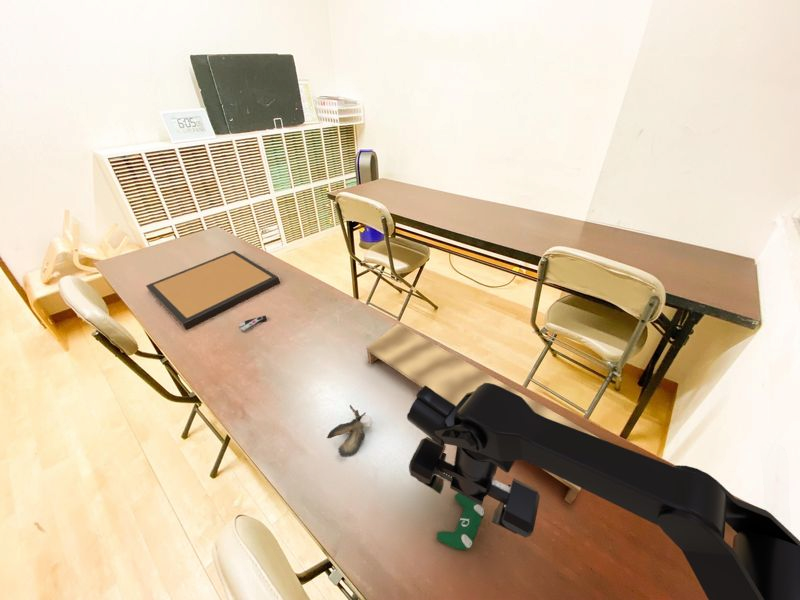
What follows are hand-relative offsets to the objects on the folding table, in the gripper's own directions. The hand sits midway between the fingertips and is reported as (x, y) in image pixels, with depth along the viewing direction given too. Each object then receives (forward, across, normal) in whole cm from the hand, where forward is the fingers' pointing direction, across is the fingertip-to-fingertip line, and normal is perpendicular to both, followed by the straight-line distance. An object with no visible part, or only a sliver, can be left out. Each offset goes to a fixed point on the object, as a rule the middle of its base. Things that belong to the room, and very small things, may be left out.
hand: (466, 504), depth 54 cm
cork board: (+9, +112, -31) cm, 117 cm away
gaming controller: (+9, 0, 0) cm, 9 cm away
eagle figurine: (+9, +28, -5) cm, 30 cm away
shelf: (+9, +9, -26) cm, 29 cm away
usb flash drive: (+9, +80, -22) cm, 84 cm away
